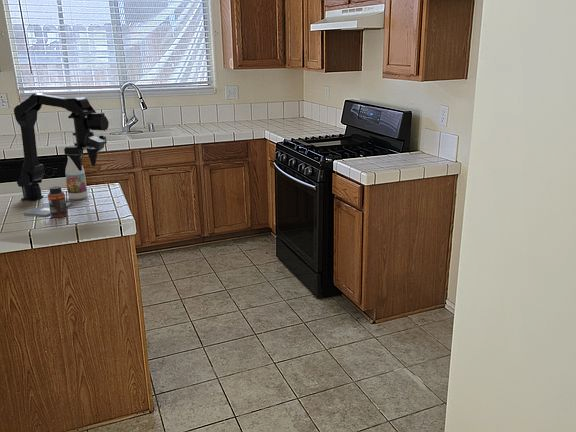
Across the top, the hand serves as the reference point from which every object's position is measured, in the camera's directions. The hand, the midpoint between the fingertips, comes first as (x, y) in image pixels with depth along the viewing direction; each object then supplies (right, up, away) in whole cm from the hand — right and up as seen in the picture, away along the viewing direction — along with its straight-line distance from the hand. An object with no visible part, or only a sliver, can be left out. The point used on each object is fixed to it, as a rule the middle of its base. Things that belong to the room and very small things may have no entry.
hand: (87, 168), depth 208 cm
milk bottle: (-9, -12, +12) cm, 19 cm away
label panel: (-13, -17, -5) cm, 22 cm away
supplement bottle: (-6, -20, -13) cm, 24 cm away
